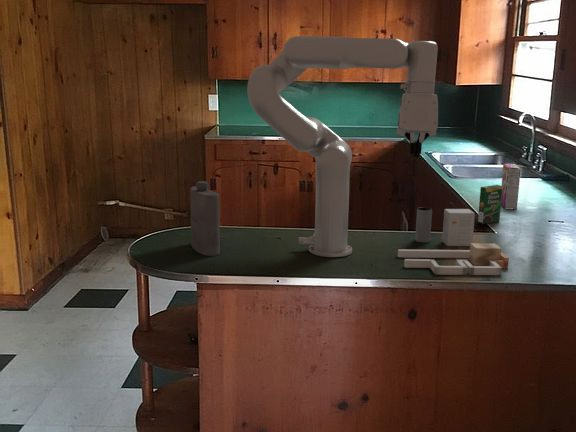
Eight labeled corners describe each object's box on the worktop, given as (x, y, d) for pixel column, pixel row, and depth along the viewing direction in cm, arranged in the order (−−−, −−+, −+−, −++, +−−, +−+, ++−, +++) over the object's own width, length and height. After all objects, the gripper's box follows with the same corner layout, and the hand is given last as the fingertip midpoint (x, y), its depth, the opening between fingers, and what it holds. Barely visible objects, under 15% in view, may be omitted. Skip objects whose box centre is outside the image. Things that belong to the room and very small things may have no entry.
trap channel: (409, 274, 161) (410, 263, 161) (397, 256, 177) (398, 246, 176) (515, 275, 162) (516, 264, 161) (494, 257, 178) (495, 247, 177)
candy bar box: (498, 203, 251) (502, 163, 247) (511, 203, 250) (515, 163, 246) (503, 209, 240) (507, 167, 236) (517, 209, 239) (521, 168, 235)
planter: (417, 238, 197) (420, 206, 194) (431, 240, 194) (434, 208, 192) (413, 241, 193) (415, 209, 190) (427, 243, 190) (429, 211, 188)
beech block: (474, 265, 170) (476, 248, 169) (469, 260, 175) (470, 243, 174) (499, 266, 170) (501, 248, 169) (493, 260, 175) (495, 243, 174)
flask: (186, 243, 186) (185, 178, 181) (205, 241, 188) (204, 177, 184) (202, 257, 173) (201, 187, 168) (222, 255, 175) (221, 185, 171)
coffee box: (482, 224, 216) (486, 187, 213) (476, 222, 218) (480, 186, 215) (499, 222, 219) (503, 185, 216) (493, 220, 222) (497, 184, 219)
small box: (466, 241, 194) (469, 208, 191) (472, 246, 188) (475, 212, 186) (441, 241, 193) (444, 208, 191) (446, 246, 188) (449, 212, 186)
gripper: (394, 88, 162) (390, 158, 166) (451, 90, 162) (445, 159, 167) (389, 87, 169) (385, 154, 174) (444, 89, 170) (438, 155, 174)
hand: (414, 156), depth 170 cm, fingers closed
